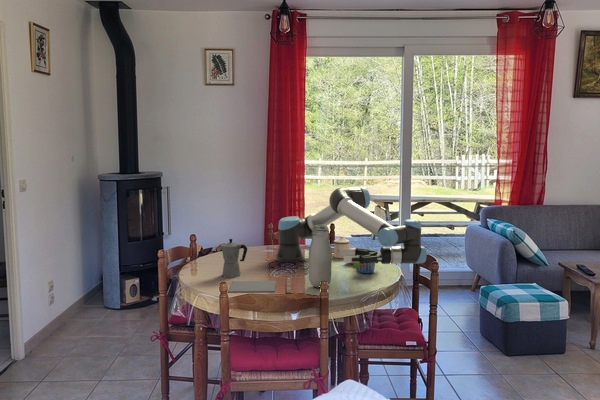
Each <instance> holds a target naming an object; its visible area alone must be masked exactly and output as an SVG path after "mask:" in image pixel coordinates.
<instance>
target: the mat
mask: <svg viewBox="0 0 600 400" xmlns="http://www.w3.org/2000/svg"><path fill="white" fill-rule="evenodd" d="M276 284H277V281H276V280H233V281H231V284H230V286H229V288H228V290H227V293H275V291H276Z"/></svg>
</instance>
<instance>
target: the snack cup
mask: <svg viewBox="0 0 600 400" xmlns="http://www.w3.org/2000/svg"><path fill="white" fill-rule="evenodd" d="M357 256H359V257H360V255H357ZM378 263H379V262H372V263H365V264H362V263H360V262H354V264H353V266H354V267H355V268H358V269H357V270H358V272H359V273H361V274H372V273H374V272H375V267H376V264H378Z"/></svg>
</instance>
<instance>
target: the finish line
mask: <svg viewBox="0 0 600 400" xmlns="http://www.w3.org/2000/svg"><path fill="white" fill-rule="evenodd" d="M285 288H286V291H285V293H291V294H292V279H291V278H290V279H286V287H285Z"/></svg>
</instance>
